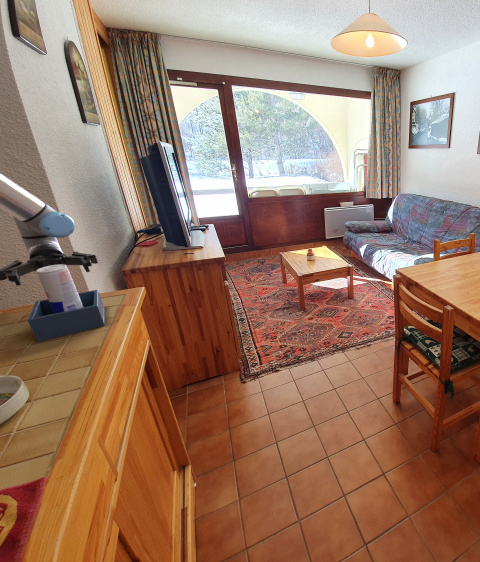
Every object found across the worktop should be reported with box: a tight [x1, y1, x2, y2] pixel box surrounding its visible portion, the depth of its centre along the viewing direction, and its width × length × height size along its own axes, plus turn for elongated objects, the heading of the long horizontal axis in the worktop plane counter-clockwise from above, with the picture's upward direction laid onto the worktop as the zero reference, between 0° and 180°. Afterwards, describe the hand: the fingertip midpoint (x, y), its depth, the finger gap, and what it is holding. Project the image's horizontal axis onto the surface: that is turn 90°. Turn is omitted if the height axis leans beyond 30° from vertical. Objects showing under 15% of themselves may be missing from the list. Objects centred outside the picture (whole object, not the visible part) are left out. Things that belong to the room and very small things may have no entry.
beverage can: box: [35, 264, 84, 314], centre depth 80 cm, size 6×6×15 cm
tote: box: [27, 289, 106, 343], centre depth 82 cm, size 13×13×6 cm
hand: (53, 273), depth 83 cm, fingers open, 13 cm apart
